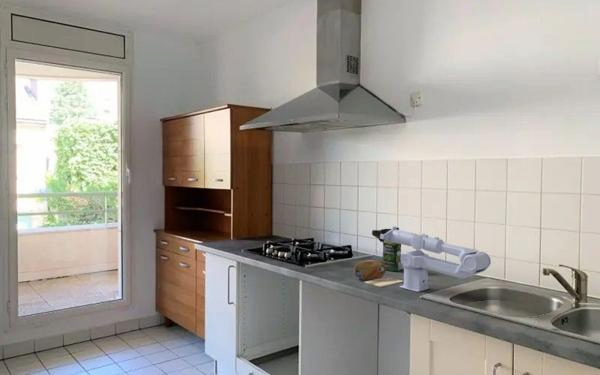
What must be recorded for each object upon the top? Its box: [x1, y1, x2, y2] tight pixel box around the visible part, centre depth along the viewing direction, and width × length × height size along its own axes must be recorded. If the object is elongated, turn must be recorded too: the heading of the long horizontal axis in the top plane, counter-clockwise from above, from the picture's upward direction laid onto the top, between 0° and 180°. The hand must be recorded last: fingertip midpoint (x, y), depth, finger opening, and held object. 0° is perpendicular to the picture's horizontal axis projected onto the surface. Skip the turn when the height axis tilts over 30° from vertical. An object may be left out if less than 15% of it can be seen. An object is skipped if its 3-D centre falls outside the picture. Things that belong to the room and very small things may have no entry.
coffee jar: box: [381, 239, 403, 272], centre depth 218 cm, size 10×8×19 cm
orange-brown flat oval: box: [353, 259, 386, 281], centre depth 199 cm, size 15×3×8 cm, turn 107°
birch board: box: [364, 276, 404, 288], centre depth 193 cm, size 10×15×1 cm, turn 129°
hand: (378, 231), depth 198 cm, fingers open, 7 cm apart
